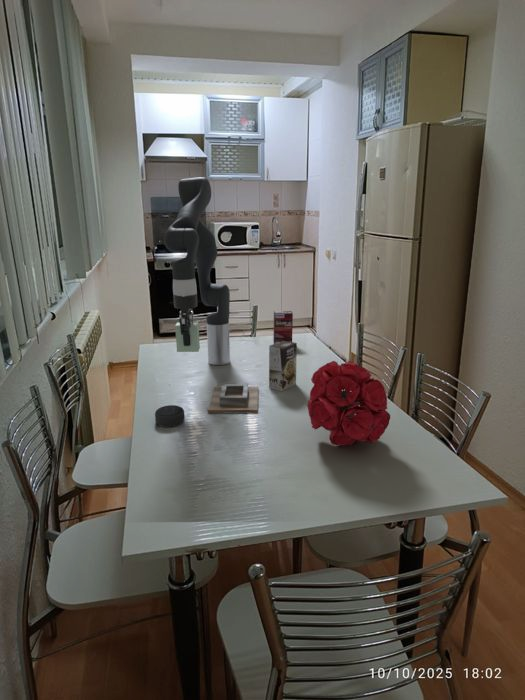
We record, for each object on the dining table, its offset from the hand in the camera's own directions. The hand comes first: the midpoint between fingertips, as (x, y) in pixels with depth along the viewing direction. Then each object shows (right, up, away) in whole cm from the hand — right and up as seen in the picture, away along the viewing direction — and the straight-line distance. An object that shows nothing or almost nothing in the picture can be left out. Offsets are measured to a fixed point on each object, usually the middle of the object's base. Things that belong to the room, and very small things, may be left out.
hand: (188, 343), depth 157 cm
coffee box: (+32, -16, +17) cm, 40 cm away
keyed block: (0, -2, +1) cm, 2 cm away
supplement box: (+34, 0, +68) cm, 76 cm away
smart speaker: (-4, -25, -10) cm, 27 cm away
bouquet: (+48, -27, -21) cm, 59 cm away
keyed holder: (+15, -19, +5) cm, 25 cm away
